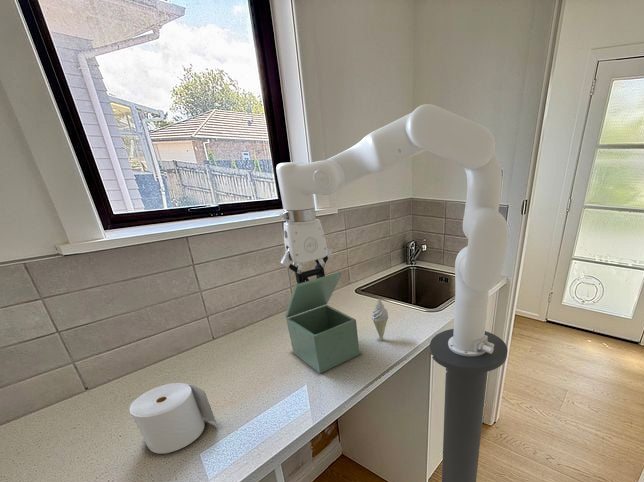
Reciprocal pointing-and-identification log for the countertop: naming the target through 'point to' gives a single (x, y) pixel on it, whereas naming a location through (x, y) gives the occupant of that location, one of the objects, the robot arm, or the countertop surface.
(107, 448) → the countertop surface
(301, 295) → the bin lid
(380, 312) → the ice cream cone
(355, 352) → the bin
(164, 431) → the toilet tissue
